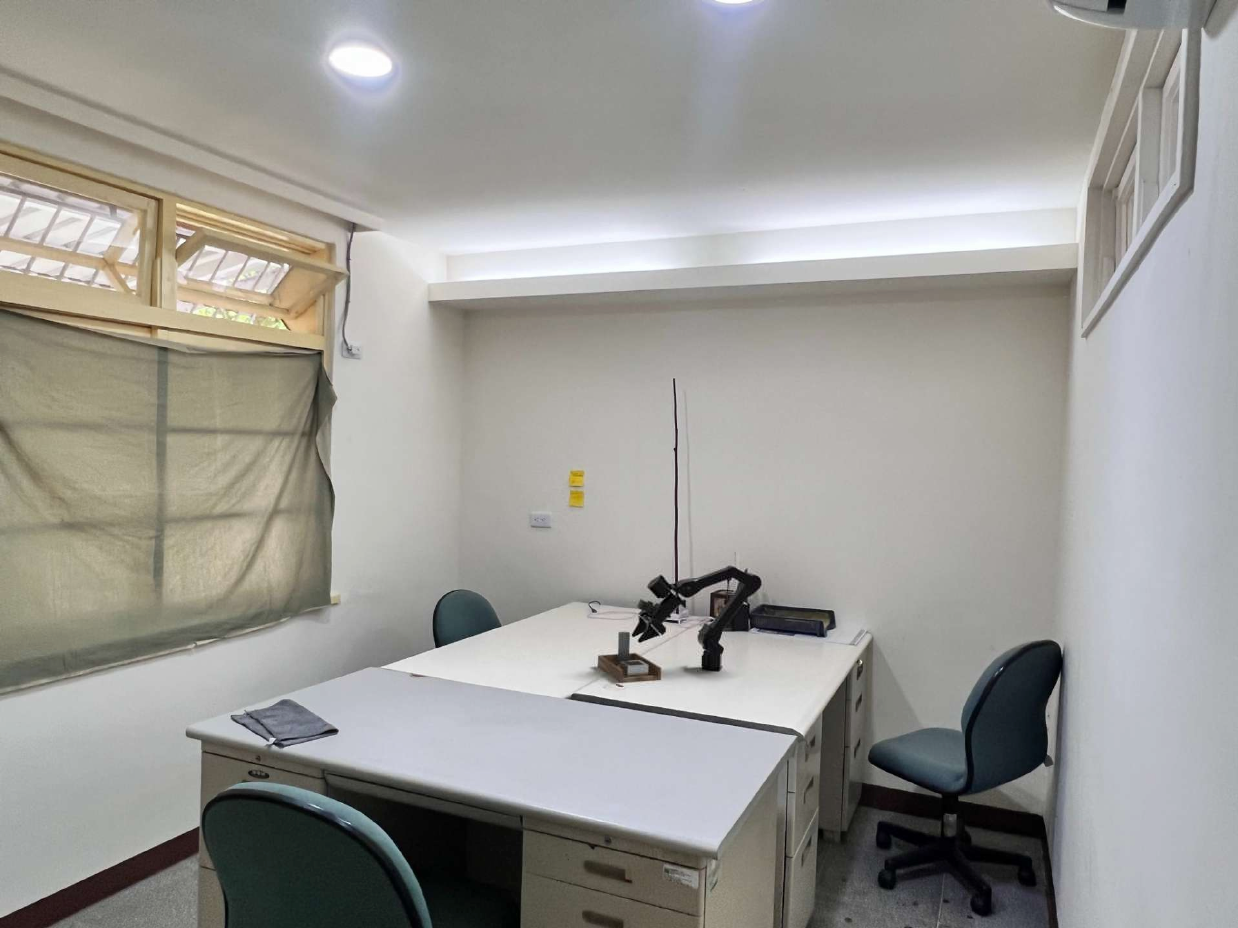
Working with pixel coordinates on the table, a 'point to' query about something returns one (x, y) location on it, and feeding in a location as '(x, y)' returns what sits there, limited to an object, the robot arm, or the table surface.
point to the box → (611, 667)
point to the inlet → (634, 668)
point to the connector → (623, 646)
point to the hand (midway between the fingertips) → (635, 639)
